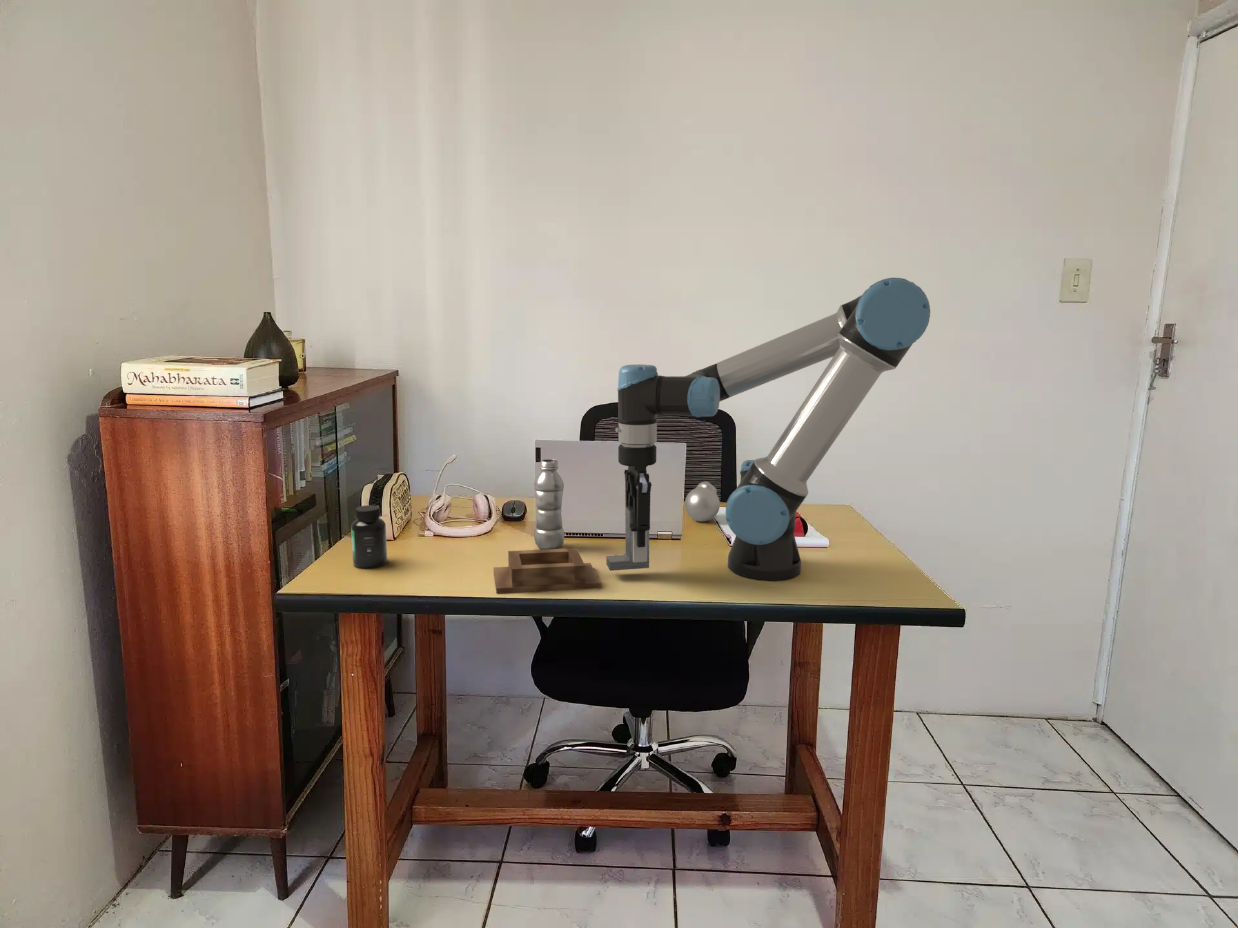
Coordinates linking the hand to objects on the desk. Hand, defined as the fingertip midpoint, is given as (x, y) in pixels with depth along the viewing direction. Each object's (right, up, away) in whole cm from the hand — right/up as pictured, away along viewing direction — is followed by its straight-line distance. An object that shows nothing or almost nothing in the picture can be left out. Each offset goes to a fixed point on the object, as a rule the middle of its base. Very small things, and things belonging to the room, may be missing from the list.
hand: (637, 557), depth 161 cm
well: (-18, -4, -3) cm, 19 cm away
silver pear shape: (+17, +4, +42) cm, 45 cm away
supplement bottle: (-56, -2, +5) cm, 56 cm away
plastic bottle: (-19, 0, +17) cm, 26 cm away
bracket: (-2, -2, 0) cm, 3 cm away
